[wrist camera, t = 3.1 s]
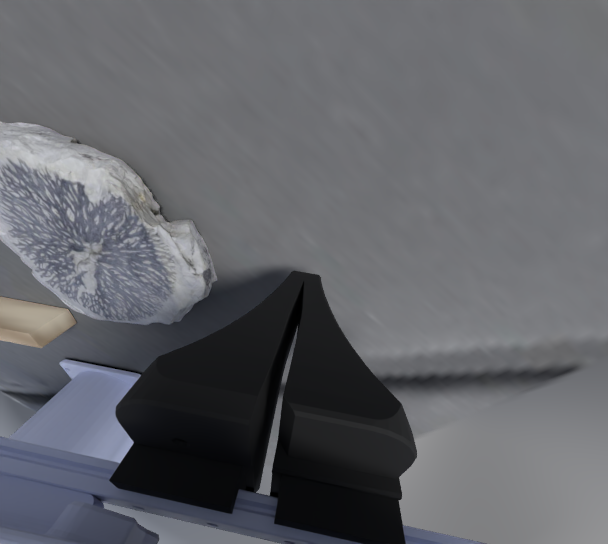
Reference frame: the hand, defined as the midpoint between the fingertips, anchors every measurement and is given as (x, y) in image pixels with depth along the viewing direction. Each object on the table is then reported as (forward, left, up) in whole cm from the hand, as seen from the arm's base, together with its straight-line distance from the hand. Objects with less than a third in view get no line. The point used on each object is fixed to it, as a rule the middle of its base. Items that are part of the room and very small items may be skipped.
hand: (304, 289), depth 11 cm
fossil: (0, +11, -2) cm, 11 cm away
